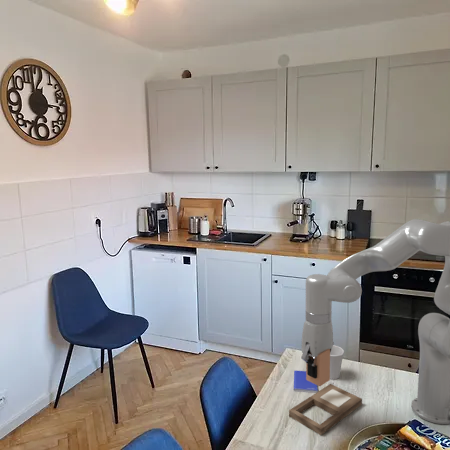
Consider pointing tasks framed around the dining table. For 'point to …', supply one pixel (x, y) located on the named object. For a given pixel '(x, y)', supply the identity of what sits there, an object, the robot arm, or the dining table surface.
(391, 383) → the dining table surface
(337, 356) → the dixie cup
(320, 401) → the socket board
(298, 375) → the hard drive
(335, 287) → the robot arm
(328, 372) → the block
